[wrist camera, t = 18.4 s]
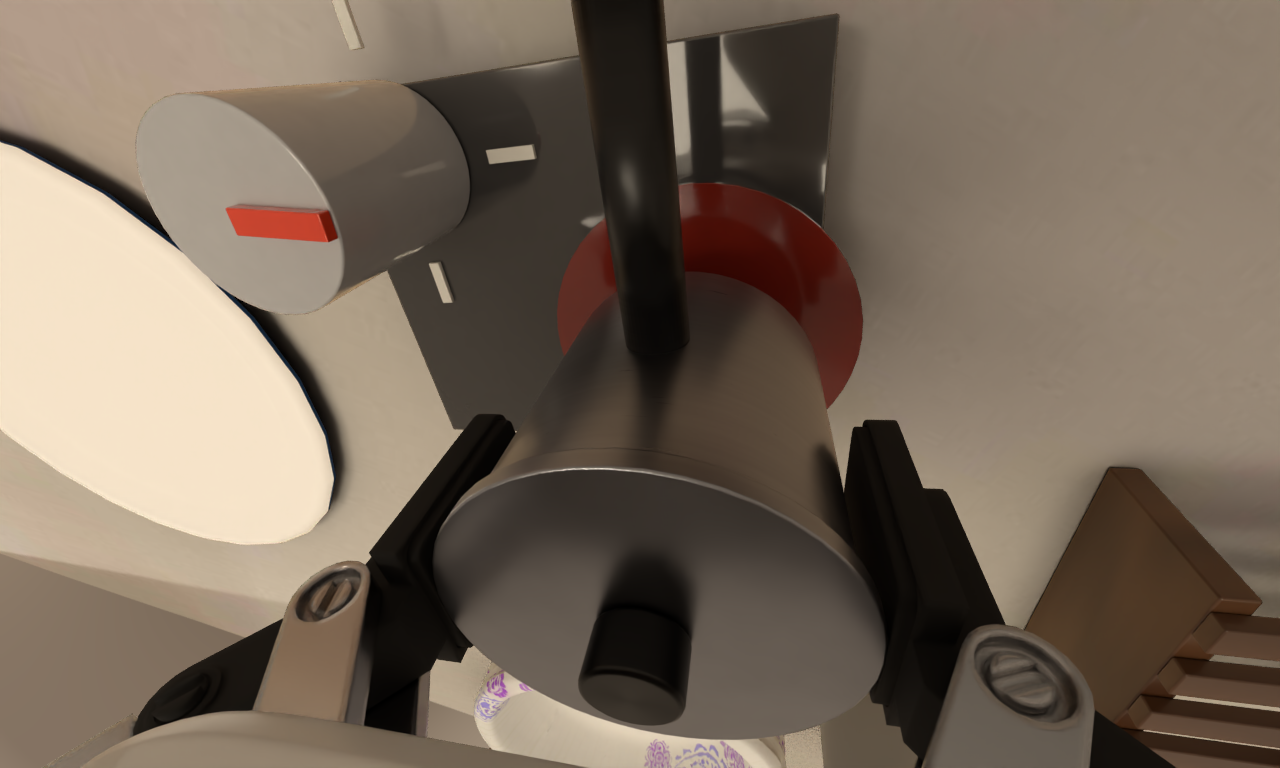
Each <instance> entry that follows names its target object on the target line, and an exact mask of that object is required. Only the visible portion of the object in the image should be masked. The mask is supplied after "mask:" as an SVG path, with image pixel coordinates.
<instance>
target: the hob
mask: <svg viewBox="0 0 1280 768" xmlns="http://www.w3.org/2000/svg"><path fill="white" fill-rule="evenodd" d="M332 3H333V6H334V8H335V11H336V14H337V17H338V19H339V22H340V25H341V27H342V30H343V33H344V36H345V38H346V41H347V44H348V46H349V49H350V50H356V49H362V48H364V45H363V42H362V39H361V36H360V33H359V31H358V28H357V25H356V22H355V19H354V16H353V14H352V11H351V8H350V5H349V2H348V0H332ZM838 30H839V14H837V13H836V14H830V15H824V16H818V17H812V18H805V19H799V20H793V21H787V22H781V23H775V24H768V25H762V26H756V27H750V28H744V29H738V30H731V31H725V32H719V33H713V34H707V35H701V36H694V37H688V38H682V39H676V40H670V41H667V51H668V63H669V76H670V89H671V101H672V114H673V127H674V139H675V152H676V165H677V177H678V185H680V184H686V183H705V182H716V183H724V184H733V185H739V186H743V187H747V188H751V189H755V190H759V191H762V192H764V193H767V194H769V195H771V196H774V197H776V198H779V199H781V200H783V201H785V202H786V203H788V204H790V205H791V206H793V207H795V208H796V209H798V210H800V211H802V212H803V213H804V214H805V215H807V216H808V217H809V218H810V219H812V220H813V221H814V222H815V223H816V224H818V225H819V226H820V227H821V228H822V229H824V216H825V203H826V189H827V176H828V163H829V150H830V136H831V123H832V110H833V97H834V83H835V70H836V57H837V44H838ZM400 85H403V86H405V87H408V88H409V89H411V90H413V91H414V92H416V93H418V94H419V95H420V96H422V97H423V98H425V99H426V100H427V101H428V102H429V103H431V104H432V105H433V106H434V107H435V108H436V109H437V110H438V111H439V112H440V114H441V115H442V116H443V117H444V118H445V120H446V121H447V122H448V124H449V125H450V126H451V128H452V130H453V131H454V133H455V135H456V136H457V138H458V140H459V143H460V145H461V147H462V149H463V152H464V155H465V158H466V161H467V165H468V170H469V177H470V195H469V202H468V206H467V209H466V212H465V214H464V216H463V218H462V220H461V221H460V223H459V224H458V226H457V227H456V228H455V229H454V230H453V231H452V232H450V233H449V234H448V235H446V236H444V237H443V238H441V239H439V240H437V241H436V242H434V243H432V244H431V245H429V246H427V247H426V248H424V249H422V250H420V251H419V252H417V253H415V254H414V255H412V256H410V257H408V258H407V259H405V260H403V261H402V262H400V263H398V264H397V265H395V266H393V267H391V268H390V269H388V270H387V271H388V274H389V276H390V278H391V281H392V283H393V286H394V288H395V290H396V293H397V295H398V297H399V300H400V302H401V305H402V307H403V309H404V312H405V314H406V317H407V319H408V321H409V324H410V326H411V328H412V331H413V333H414V336H415V338H416V340H417V343H418V345H419V348H420V350H421V352H422V355H423V357H424V359H425V362H426V364H427V367H428V369H429V371H430V374H431V376H432V379H433V381H434V383H435V386H436V388H437V390H438V393H439V395H440V398H441V400H442V402H443V405H444V407H445V410H446V412H447V414H448V417H449V419H450V421H451V424H452V426H453V428H454V429H465V428H466V427H467V425H468V424H469V423H470V422H471V420H472V419H473V418H474V417H475V416H476V415H477V414H501V415H503V416H504V417H505V418H506V420H509V421H510V422H511V423H512V425H513V427H514V430H515V431H518V429H519V428H520V426H521V424H522V423H523V421H524V420H525V418H526V417H527V415H528V413H529V412H530V410H531V409H532V407H533V405H534V404H535V402H536V401H537V399H538V398H539V396H540V394H541V393H542V391H543V390H544V388H545V386H546V385H547V383H548V382H549V380H550V378H551V377H552V375H553V374H554V372H555V371H556V369H557V367H558V366H559V364H560V363H561V361H562V359H563V358H564V354H563V350H562V347H561V344H560V338H559V332H558V322H557V307H558V298H559V291H560V288H561V284H562V280H563V276H564V274H565V271H566V269H567V267H568V264H569V262H570V260H571V258H572V256H573V255H574V253H575V251H576V250H577V248H578V246H579V245H580V243H581V242H582V241H583V240H584V239H585V237H586V236H587V235H588V234H589V233H590V231H591V230H592V229H593V228H594V227H595V226H596V225H597V224H598V223H599V222H601V221H602V220H603V219H604V218H605V212H604V206H603V199H602V193H601V187H600V181H599V174H598V168H597V162H596V156H595V149H594V143H593V137H592V131H591V124H590V118H589V112H588V106H587V99H586V93H585V87H584V81H583V74H582V68H581V62H580V56H579V55H577V56H571V57H565V58H559V59H553V60H547V61H540V62H534V63H528V64H522V65H516V66H510V67H503V68H497V69H491V70H485V71H479V72H473V73H467V74H460V75H454V76H448V77H442V78H436V79H430V80H423V81H417V82H411V83H405V84H400Z"/></svg>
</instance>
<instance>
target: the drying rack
mask: <svg viewBox="0 0 1280 768" xmlns="http://www.w3.org/2000/svg"><path fill="white" fill-rule="evenodd" d="M1261 604H1262V600H1261V599H1260V598H1259V597H1258V596H1257V595H1256V594H1255V592H1254V591H1253V590H1252V589H1251V588H1250V587H1249V586H1248V585H1247V584H1246V583H1245V582H1244V581H1243V579H1242V578H1241V577H1240V576H1239V575H1238V574H1237V573H1236V572H1235V571H1234V570H1233V569H1232V568H1231V566H1230V565H1229V564H1228V563H1227V562H1226V561H1225V560H1224V559H1223V558H1222V557H1221V556H1220V555H1219V553H1218V552H1217V551H1216V550H1215V549H1214V548H1213V547H1212V546H1211V545H1210V544H1209V543H1208V542H1207V540H1206V539H1205V538H1204V537H1203V536H1202V535H1201V534H1200V533H1199V532H1198V531H1197V530H1196V529H1195V527H1194V526H1193V525H1192V524H1191V523H1190V522H1189V521H1188V520H1187V519H1186V518H1185V517H1184V516H1183V514H1182V513H1181V512H1180V511H1179V510H1178V509H1177V508H1176V507H1175V506H1174V505H1173V504H1172V503H1171V501H1170V500H1169V499H1168V498H1167V497H1166V496H1165V495H1164V494H1163V493H1162V492H1161V491H1160V490H1159V488H1158V487H1157V486H1156V485H1155V484H1154V483H1153V482H1152V481H1151V480H1150V479H1149V478H1148V477H1147V475H1146V474H1145V473H1144V472H1143V471H1142V470H1140V469H1125V468H1110V469H1109V470H1108V472H1107V474H1106V476H1105V478H1104V480H1103V482H1102V484H1101V485H1100V487H1099V489H1098V491H1097V493H1096V495H1095V497H1094V499H1093V501H1092V503H1091V505H1090V506H1089V508H1088V510H1087V512H1086V514H1085V516H1084V518H1083V520H1082V522H1081V524H1080V526H1079V527H1078V529H1077V531H1076V533H1075V535H1074V537H1073V539H1072V541H1071V543H1070V545H1069V546H1068V548H1067V550H1066V552H1065V554H1064V556H1063V558H1062V560H1061V562H1060V564H1059V566H1058V567H1057V569H1056V571H1055V573H1054V575H1053V577H1052V579H1051V581H1050V583H1049V585H1048V587H1047V588H1046V590H1045V592H1044V594H1043V596H1042V598H1041V600H1040V602H1039V604H1038V606H1037V608H1036V609H1035V611H1034V613H1033V615H1032V617H1031V619H1030V621H1029V623H1028V625H1027V627H1026V629H1025V631H1028V632H1031V633H1033V634H1035V635H1037V636H1038V637H1040V638H1042V639H1044V640H1045V641H1047V642H1049V643H1051V644H1052V645H1053V646H1055V647H1056V648H1057V649H1058V650H1059V651H1061V652H1062V653H1063V654H1064V655H1065V656H1067V657H1068V658H1069V659H1070V660H1071V661H1072V663H1073V664H1074V665H1075V666H1076V667H1077V669H1078V670H1079V671H1080V672H1081V673H1082V675H1083V676H1084V678H1085V680H1086V682H1087V684H1088V686H1089V688H1090V690H1091V692H1092V695H1093V703H1094V709H1095V710H1096V711H1097V712H1099V713H1100V714H1102V715H1103V716H1104V717H1106V718H1107V719H1109V720H1110V721H1112V722H1113V723H1114V724H1116V725H1117V726H1119V727H1120V728H1121V729H1123V730H1124V731H1126V732H1127V733H1128V734H1130V735H1131V736H1133V737H1134V738H1135V739H1137V740H1138V741H1140V742H1141V743H1142V744H1144V745H1145V746H1147V747H1148V748H1150V749H1151V750H1152V751H1154V752H1155V753H1157V754H1158V755H1159V756H1161V757H1162V758H1164V759H1165V760H1166V761H1168V762H1169V763H1171V764H1172V765H1173V766H1175V767H1176V768H1280V750H1277V749H1270V748H1262V747H1255V746H1248V745H1241V744H1233V743H1226V742H1219V741H1211V740H1204V739H1197V738H1189V737H1182V736H1175V735H1168V734H1160V733H1153V732H1146V731H1143V730H1151V731H1159V732H1166V733H1173V734H1181V735H1188V736H1195V737H1203V738H1210V739H1217V740H1225V741H1232V742H1239V743H1247V744H1254V745H1261V746H1269V747H1276V748H1280V712H1277V711H1269V710H1261V709H1253V708H1245V707H1237V706H1228V705H1220V704H1212V703H1204V702H1196V701H1188V700H1180V699H1173V698H1174V697H1175V696H1176V695H1181V696H1189V697H1197V698H1205V699H1214V700H1222V701H1230V702H1238V703H1246V704H1255V705H1263V706H1271V707H1279V708H1280V668H1271V667H1262V666H1252V665H1243V664H1234V663H1224V662H1215V661H1209V660H1210V659H1211V658H1212V656H1213V655H1214V654H1215V655H1225V656H1235V657H1244V658H1254V659H1263V660H1273V661H1280V618H1271V617H1260V616H1251V615H1252V614H1253V613H1254V612H1255V611H1256V609H1257V608H1258V607H1259V606H1260V605H1261Z"/></svg>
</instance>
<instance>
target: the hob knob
mask: <svg viewBox="0 0 1280 768" xmlns="http://www.w3.org/2000/svg"><path fill="white" fill-rule="evenodd" d="M136 160H137V166H138V171H139V175H140V179H141V182H142V185H143V188H144V190H145V193H146V196H147V198H148V200H149V202H150V204H151V206H152V208H153V210H154V212H155V214H156V216H157V217H158V219H159V221H160V222H161V224H162V226H163V227H164V229H165V230H166V232H167V233H168V234H169V236H170V237H171V239H172V240H173V241H174V242H175V244H176V245H177V246H178V247H179V249H180V250H181V251H182V252H183V253H184V254H185V256H186V257H187V258H188V259H189V260H190V261H191V262H192V263H193V264H194V265H195V266H196V267H197V268H198V269H199V270H200V271H201V272H202V273H204V274H205V275H206V276H207V277H208V278H210V279H211V280H212V281H213V282H214V283H216V284H217V285H218V286H220V287H221V288H223V289H224V290H225V291H227V292H229V293H230V294H232V295H233V296H235V297H237V298H238V299H240V300H242V301H244V302H246V303H248V304H250V305H253V306H255V307H258V308H260V309H263V310H266V311H270V312H273V313H279V314H285V315H300V314H308V313H311V312H315V311H317V310H319V309H321V308H323V307H325V306H327V305H328V304H330V303H332V302H334V301H335V300H337V299H339V298H340V297H342V296H344V295H345V294H347V293H349V292H351V291H352V290H354V289H356V288H357V287H359V286H361V285H363V284H364V283H366V282H368V281H369V280H371V279H373V278H374V277H376V276H378V275H380V274H381V273H383V272H385V271H386V270H388V269H390V268H391V267H393V266H395V265H397V264H398V263H400V262H402V261H403V260H405V259H407V258H408V257H410V256H412V255H414V254H415V253H417V252H419V251H420V250H422V249H424V248H426V247H427V246H429V245H431V244H432V243H434V242H436V241H437V240H439V239H441V238H443V237H444V236H446V235H448V234H449V233H450V232H452V231H453V230H454V229H455V228H456V227H457V226H458V224H459V223H460V221H461V220H462V218H463V216H464V214H465V212H466V209H467V206H468V202H469V195H470V177H469V170H468V165H467V161H466V158H465V155H464V152H463V149H462V147H461V145H460V143H459V140H458V138H457V136H456V135H455V133H454V131H453V130H452V128H451V126H450V125H449V124H448V122H447V121H446V120H445V118H444V117H443V116H442V115H441V114H440V112H439V111H438V110H437V109H436V108H435V107H434V106H433V105H432V104H431V103H429V102H428V101H427V100H426V99H425V98H423V97H422V96H420V95H419V94H418V93H416V92H414V91H413V90H411V89H409V88H408V87H405V86H403V85H400V84H398V83H395V82H391V81H387V80H362V81H348V82H334V83H319V84H305V85H291V86H276V87H262V88H247V89H233V90H219V91H204V92H190V93H176V94H173V95H169V96H166V97H164V98H162V99H160V100H159V101H157V102H155V103H154V104H153V105H152V106H151V107H150V108H149V109H148V110H147V111H146V112H145V114H144V116H143V117H142V119H141V121H140V124H139V127H138V130H137V136H136Z"/></svg>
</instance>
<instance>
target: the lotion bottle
mask: <svg viewBox="0 0 1280 768" xmlns="http://www.w3.org/2000/svg"><path fill="white" fill-rule="evenodd" d="M820 732H821V744H822V755H823V766H824V768H913V767H914V764H915V761H916V758H917V755H916V754H915V753H914V752H913V751H912V750H911V749H910V748H909V747H908V746H907V745H906V744H905V743H904V742H903V738H902V734H901V729H900V727H896V726H889V725H886V720H885V715H884V710H883V705H882V704H875V703H872V701H871V698H870V694H869V693H868V694H867V695H866V696H865V697H864V698H863V699H862V700H861V701H860V702H859V703H857V704H856V705H855V706H854V707H852V708H851V709H849V710H848V711H846V712H845V713H843V714H841V715H840V716H838V717H836V718H834V719H832V720H830V721H827V722H825V723H823V724H821V725H820Z"/></svg>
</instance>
